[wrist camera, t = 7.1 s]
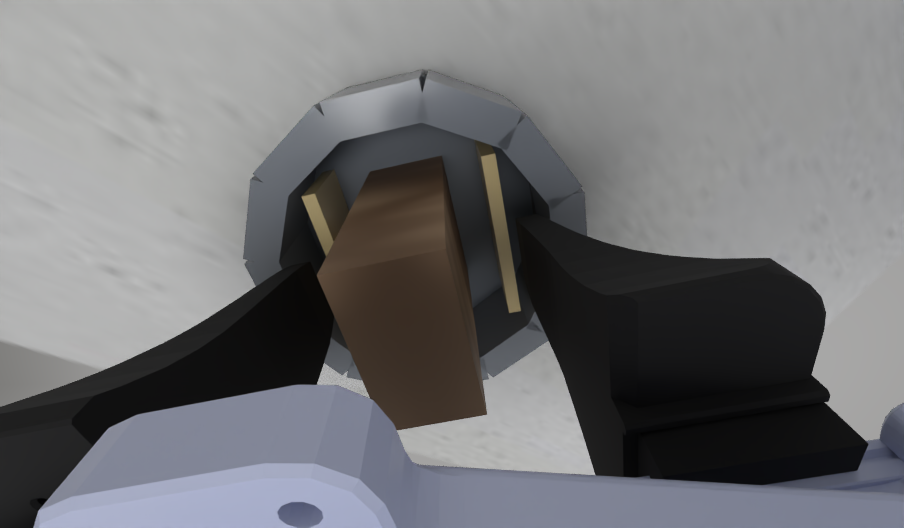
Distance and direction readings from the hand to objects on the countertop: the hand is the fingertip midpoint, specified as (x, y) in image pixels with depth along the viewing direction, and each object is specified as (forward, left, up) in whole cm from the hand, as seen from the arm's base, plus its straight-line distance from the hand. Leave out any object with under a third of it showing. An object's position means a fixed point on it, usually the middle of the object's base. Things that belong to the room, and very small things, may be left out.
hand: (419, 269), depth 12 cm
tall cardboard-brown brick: (0, 0, -3) cm, 3 cm away
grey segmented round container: (0, 0, -4) cm, 4 cm away
